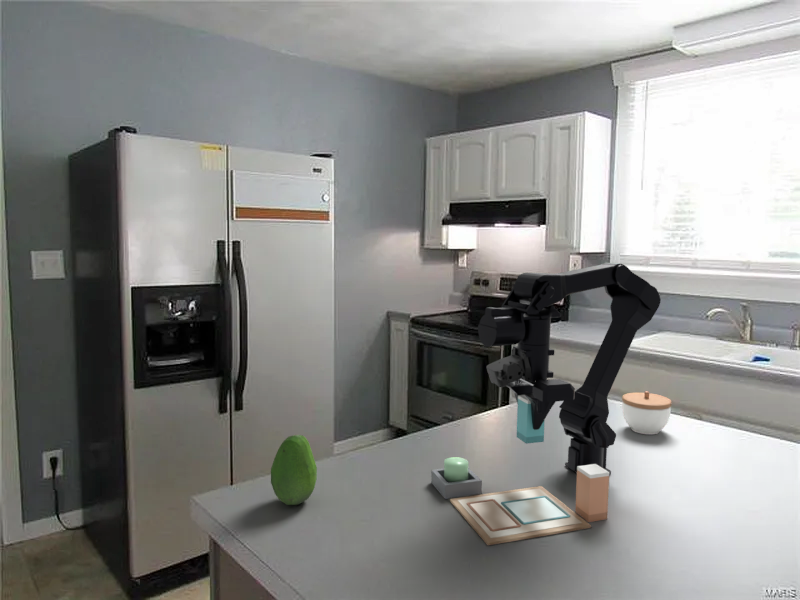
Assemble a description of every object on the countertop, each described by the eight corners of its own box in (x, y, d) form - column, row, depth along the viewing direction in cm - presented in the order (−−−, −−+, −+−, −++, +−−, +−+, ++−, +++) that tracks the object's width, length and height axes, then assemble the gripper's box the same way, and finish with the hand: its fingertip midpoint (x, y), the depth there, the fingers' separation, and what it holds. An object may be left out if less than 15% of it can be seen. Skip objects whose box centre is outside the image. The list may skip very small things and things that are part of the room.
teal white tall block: (533, 435, 110) (535, 393, 109) (543, 441, 106) (545, 399, 105) (516, 436, 109) (517, 395, 108) (526, 443, 105) (527, 400, 104)
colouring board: (541, 488, 106) (541, 484, 106) (590, 527, 92) (591, 523, 92) (449, 501, 101) (449, 497, 101) (487, 545, 87) (487, 541, 87)
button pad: (465, 477, 111) (466, 465, 110) (481, 493, 104) (481, 480, 104) (431, 482, 109) (431, 469, 108) (445, 498, 102) (445, 485, 102)
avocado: (325, 496, 103) (324, 430, 102) (303, 516, 96) (302, 446, 94) (285, 489, 106) (284, 425, 104) (261, 508, 98) (259, 440, 97)
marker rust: (593, 509, 98) (595, 463, 98) (607, 519, 95) (609, 472, 94) (575, 511, 97) (577, 466, 96) (588, 522, 94) (590, 474, 93)
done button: (462, 471, 109) (462, 456, 108) (472, 481, 105) (472, 465, 104) (440, 474, 108) (440, 458, 107) (449, 484, 103) (449, 467, 103)
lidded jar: (678, 438, 132) (680, 398, 131) (630, 438, 132) (632, 398, 131) (658, 423, 143) (660, 385, 142) (614, 422, 143) (616, 385, 142)
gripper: (471, 335, 112) (469, 414, 114) (519, 355, 94) (516, 448, 96) (523, 333, 115) (520, 409, 117) (578, 351, 97) (574, 441, 99)
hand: (530, 425), depth 107 cm, fingers closed on teal white tall block, 4 cm apart
